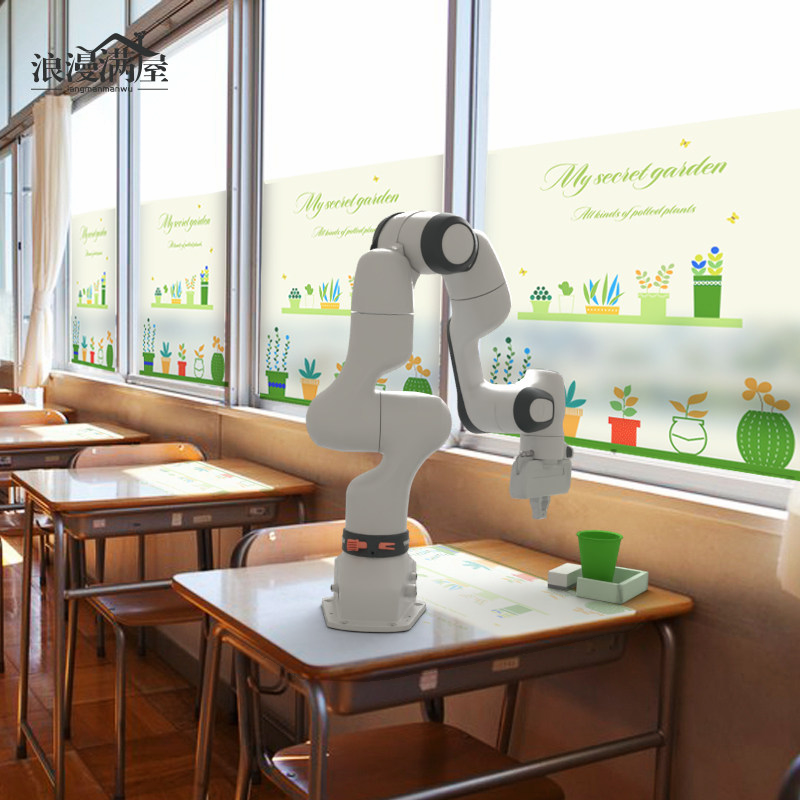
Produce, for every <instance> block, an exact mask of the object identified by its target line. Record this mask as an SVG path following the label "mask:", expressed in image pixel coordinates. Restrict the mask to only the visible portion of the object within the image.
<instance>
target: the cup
mask: <svg viewBox="0 0 800 800" xmlns="http://www.w3.org/2000/svg"><path fill="white" fill-rule="evenodd" d="M575 535H576V537H577V539H578V547H579V557H580V565H581V568H582V577H583V578H588V579H593V580H599V581H605V582H611V583H612V581H613V577H614V572H615V567H617V566H616V565H617V561H618V557H619V551H620V546H621V542H622V540H623V539H624V537H623V534H621V533H619V532H615V531H608V530H602V529H601V530H599V529H585V530H579V531H577V532H576V534H575Z"/></svg>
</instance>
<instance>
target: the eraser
mask: <svg viewBox="0 0 800 800" xmlns="http://www.w3.org/2000/svg"><path fill="white" fill-rule="evenodd" d="M578 577H582V568H581V564H575V563H569V562H566V563H563V564H561V565H559V566H557V567H555V568H553V569H550V570H548V572H547V588H548V589H553V590H560V591H565V592H566V591H569V590H571V589H574V588H575V587H577V578H578ZM582 578H583V577H582Z"/></svg>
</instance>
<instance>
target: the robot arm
mask: <svg viewBox="0 0 800 800" xmlns="http://www.w3.org/2000/svg"><path fill="white" fill-rule="evenodd" d="M371 240H372V241H371V244H370V246H369V250H368V251H366V252H364V254H362V255H361V256H360V257H359V259H358V262H357V264H356V269H355V273H354V280H353V285H352V292H351V304H350V327H349V341H348V347H347V348H348V349H347V352H346V353H347V354H346V358H345V361H344V363H343V366H342V368H341V369H340V371H339V373H338V374H337V376H336V378H335V379H334V380H333V381H332V382H331V383H330V384H329V385H328V386H327V387H326V388H325V389H323V390H322V391H320V392H319V393H318V394H317V395H315V397H314V398H313V399H312V400H311V402H310V403H309V405H308V407H307V410H306V414H305V427H306V431H307V433H308V436H309V438H310V440H312V442H313V444H315V446H317V447H319V448H323V449H328V450H331V451H337V452H343V453H345V452H347V453H378V454H381V455H382V458H381V461H380V462H379V464H378V465H377V466H375V467H373V468H372V469H369V470H367V471H366V472H363V473H361V474H359V475H357V476H356V477H355V478H353V479H352V480H351V481H350V482H349V484H348V485H347V488H346V492H345V522H344V523H345V524H344V527H343V529H342V535H341V550H342V552H341V553H340V554H339V555H337V556H336V557H335V558H334V565H333V567H334V568H333V569H334V570H333V571H334V572H333V583H331V585H330V591H331V592H333V595H332V596H325V597H323V598H322V599H321V603H320V604H321V609H322V612H323V615H324V619H325V623H326V626H327V627H328V628H333V629H336V630H344V631H349V632H350V631H352V632H365V633H369V632H370V633H396V632H404V631H409V630H411V628H412V627H413V626H414V625H415V623H417V621H418V620H419V619H420V617H421V616H422V615H423V613H424V612H425V611H426V610H427V602H426V601H422V600H420V599H417V594H418V591H417V589H418V588H417V587H418V586H417V580H418V573H417V562H416V561H415V559H413V558H412V557H411V555H410V554H409V552H408V551H409V550H410V539H411V538H410V531H409V529H408V511H409V501H410V493H411V489H412V488H411V487H412V484H413V482H414V479H415V477H416V474H417V473H418V471H419V470H420V468H421V467H422V466H423V464H424V463H425V461H427V460H428V459H429V458H430V457H431V456H432V455H433V454H435V453H436V452H437V451H438V450H440V449H441V448H442V447H443V446H444V445H445V444H446V442H447V441H448V439H449V438H450V435H451V431H452V425H453V419H452V414H451V411H450V408H449V406H448V404H447V403H446V402H445V400H444V399H442V398H441V396H437V395H433V394H428V393H424V392H420V391H419V392H417V391H399V390H396V391H395V390H379V389H377V388H376V385H377V383H378V380H379V379H380V378H381V377H383V376H384V375H386V374H389V373H391V372H394V371H397V370H398V369H399V368H401V367H402V366H404V365H405V364H407V363H408V361H410V359H411V358H412V357H411V356H412V355H413V351H414V350H413V349H414V348H413V347H414V320H415V318H414V316H415V314H414V313H415V295H414V294H415V293H414V291H415V287H416V284H417V281H418V279H419V277H420V276H421V275H440V276H441V277H442V279H443V280H444V284H445V285H444V286H445V287H446V292H447V294H448V297H449V301H450V304H451V316H450V317H449V319H448V320H447V325H446V338H447V345H448V351H449V357H450V363H451V367H452V368H451V369H452V371H453V372H452V373H453V377H454V382H455V389H456V398H457V399H456V408H457V415H458V419H459V421H460V422H461V424H462V425H463V427H464V428H465V429H466V430H467V431H468V432H469V433H472V434H476V435H479V434H483V435H484V434H504V435H505V434H507V435H511V434H513V435H519V453H518V455H517V456H516V457H515V460H514V461H513V463H512V464H511V465H512V466H511V470H510V477H509V478H510V479H509V488H508V492H509V495H510V498H511V499H517V500H518V499H519V500H529V504H530V508H531V512H532V513H531V514H532V515H531V517H532V519H533V520H543V519H547V514H548V508H549V507H550V503H551V497H552V496H558V495H563V494H564V495H565V494H568V493H569V491H570V488H571V482H572V469H573V467H572V460H571V459H573V458H574V453H575V449H574V448H573V447H572V446H571V445H569V444H568V443H567V442H566V441H565V432H564V431H565V430H564V426H563V425H564V419H565V416H566V389H565V382H564V378H563V375H562V374H560V373H559V372H558V371H556V370H552V369H547V368H530V369H527V370H526V371H525V374H524V376H523V378H521V379H520V380H519V381H516V382H514V383H513V384H493V383H490V382H488V381H487V380H486V379H485V377H484V375H483V369H482V364H481V357H480V353H479V341H480V339H482V338H483V337H485V336H487V335H489V334H491V333H493V332H495V330H497V329H498V328H499V327H501V325H502V324H504V323H505V321H506V320H507V318H508V317H509V316H510V315H509V314H510V313H511V308H512V294H511V291H510V287H509V284H508V281H507V277H506V275H505V272H504V269H503V267H502V264H501V262H500V259H499V257H498V255H497V252H496V250H495V249H494V246H493V244H492V242H491V241H490V239H489V238H488V236H487V235H486V234H485V233H484V232H483V231H481V230H478V229H474V228H473V226H472V225H471V223H469V222H468V221H467V219H465V218H463V217H462V216H460V215H457V214H455V213H451V212H435V211H433V212H432V211H429V210H414V211H407V212H404V211H402V212H401V211H399V212H395V213H392V214H390V215H388V216H386V217H384V218H382V220H381V221H379V223H378V225H377V226H376V228H375V230H374V233H373V236H372V239H371Z"/></svg>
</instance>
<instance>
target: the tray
mask: <svg viewBox="0 0 800 800" xmlns="http://www.w3.org/2000/svg"><path fill="white" fill-rule="evenodd" d="M648 587H649V571H645V570H640V569H633V568H628V567H627V568H626V567H622V566H621V567H620V566H616V567H615V572H614V577H613V581H612V583H611V582H605V581H599V580H593V579H588V578H582V577H578V578H577V586H576V592H575V593H576V594H575V597H578V598H579V597H580V598H583V599H584V598H585V599H590V600H597V601H600V602H601V601H603V602H606V603H607V602H608V603H611V604H617V605H623V604H624V603H626V602H628V601H629V600H631V599H633V598H634V597H636V596H638V595H640V594H642V593H643V592H646V591H647V590H648Z"/></svg>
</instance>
